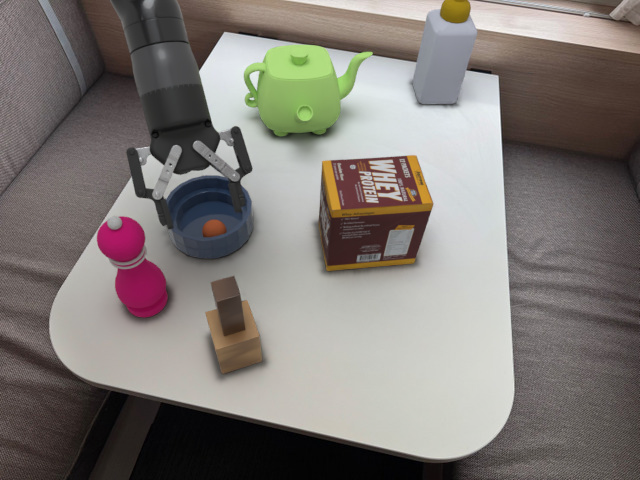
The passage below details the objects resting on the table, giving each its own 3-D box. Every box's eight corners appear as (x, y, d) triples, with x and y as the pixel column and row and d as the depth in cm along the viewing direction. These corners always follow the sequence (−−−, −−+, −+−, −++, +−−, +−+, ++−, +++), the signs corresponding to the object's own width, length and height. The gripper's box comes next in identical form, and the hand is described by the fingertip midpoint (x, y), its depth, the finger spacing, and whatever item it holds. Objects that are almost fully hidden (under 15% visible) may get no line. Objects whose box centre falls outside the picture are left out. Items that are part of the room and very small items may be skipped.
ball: (206, 249, 88) (204, 240, 84) (200, 229, 89) (198, 218, 85) (229, 243, 89) (229, 234, 85) (223, 223, 90) (222, 212, 86)
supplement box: (316, 223, 92) (321, 159, 80) (401, 217, 94) (417, 153, 82) (325, 272, 86) (330, 210, 74) (415, 264, 88) (435, 202, 75)
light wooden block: (222, 374, 74) (215, 349, 68) (212, 338, 78) (205, 311, 71) (262, 361, 76) (259, 336, 70) (250, 326, 79) (247, 299, 73)
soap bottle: (457, 105, 115) (492, -7, 95) (417, 105, 114) (444, -8, 94) (448, 80, 120) (480, -31, 100) (410, 81, 119) (434, -31, 99)
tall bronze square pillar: (223, 336, 69) (216, 301, 62) (218, 317, 71) (210, 281, 64) (245, 329, 70) (240, 294, 63) (239, 311, 72) (234, 275, 65)
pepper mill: (114, 297, 81) (72, 215, 65) (155, 273, 84) (124, 188, 69) (138, 329, 78) (99, 250, 62) (180, 302, 81) (153, 221, 65)
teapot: (249, 166, 100) (243, 98, 88) (244, 96, 113) (239, 28, 101) (376, 159, 103) (387, 92, 90) (357, 91, 116) (365, 25, 103)
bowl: (178, 270, 85) (172, 250, 81) (162, 207, 93) (156, 186, 89) (263, 247, 89) (262, 227, 84) (240, 188, 97) (238, 167, 92)
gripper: (105, 95, 57) (146, 237, 60) (232, 72, 60) (265, 207, 63) (112, 105, 64) (148, 232, 67) (225, 84, 68) (255, 205, 70)
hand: (205, 220), depth 65 cm, fingers open, 8 cm apart
